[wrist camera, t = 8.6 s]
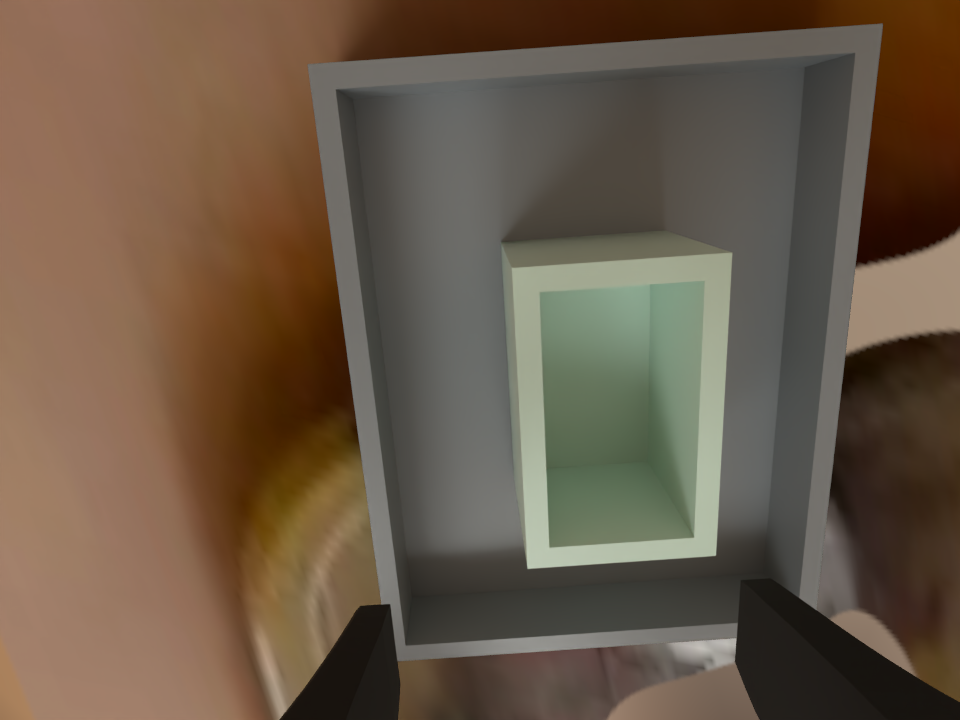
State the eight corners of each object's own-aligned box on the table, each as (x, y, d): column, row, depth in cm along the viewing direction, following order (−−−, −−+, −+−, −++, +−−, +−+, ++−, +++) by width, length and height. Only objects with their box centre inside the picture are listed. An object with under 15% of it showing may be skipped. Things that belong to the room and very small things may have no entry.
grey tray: (771, 575, 23) (813, 632, 20) (398, 601, 23) (389, 661, 21) (816, 46, 18) (883, 23, 15) (332, 80, 18) (307, 64, 15)
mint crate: (660, 468, 21) (715, 556, 16) (514, 478, 21) (527, 568, 16) (665, 230, 19) (732, 252, 14) (500, 242, 19) (512, 268, 14)
